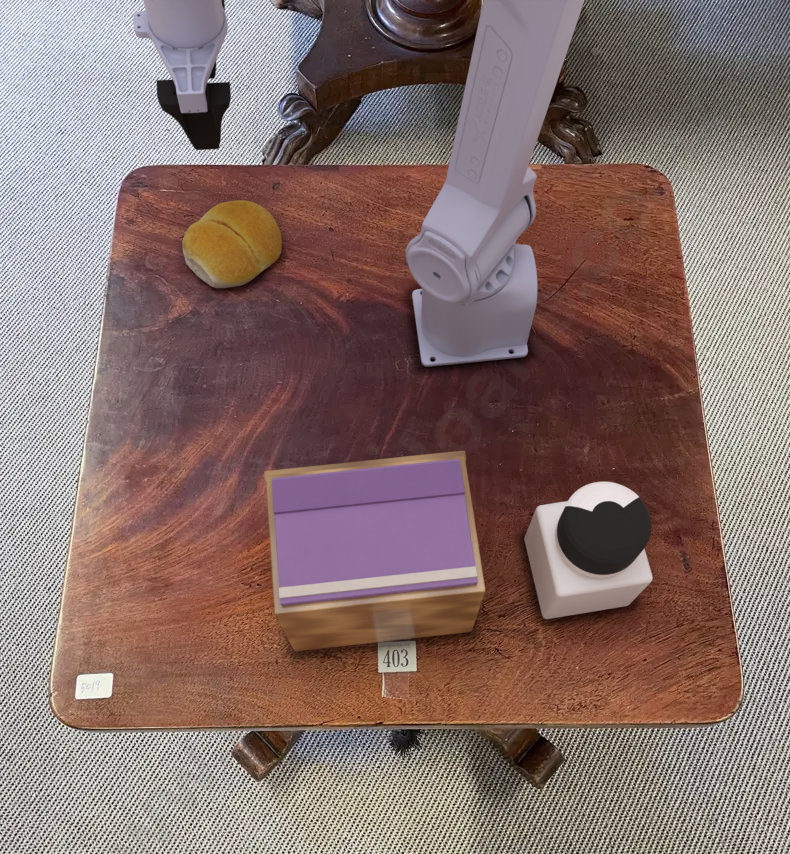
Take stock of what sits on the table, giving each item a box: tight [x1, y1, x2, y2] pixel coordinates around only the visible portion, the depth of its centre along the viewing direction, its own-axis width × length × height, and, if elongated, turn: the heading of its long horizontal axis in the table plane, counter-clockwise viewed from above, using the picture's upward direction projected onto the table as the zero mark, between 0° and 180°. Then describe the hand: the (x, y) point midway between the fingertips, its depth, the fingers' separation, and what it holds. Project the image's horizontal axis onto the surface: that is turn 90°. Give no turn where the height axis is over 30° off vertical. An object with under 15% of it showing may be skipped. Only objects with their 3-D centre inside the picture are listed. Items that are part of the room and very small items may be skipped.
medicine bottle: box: [524, 481, 654, 620], centre depth 64 cm, size 7×7×12 cm
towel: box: [272, 459, 478, 606], centre depth 58 cm, size 13×9×1 cm
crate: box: [263, 450, 486, 652], centre depth 64 cm, size 14×10×12 cm
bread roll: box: [181, 199, 283, 289], centre depth 79 cm, size 8×9×4 cm
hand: (204, 110), depth 75 cm, fingers open, 7 cm apart
